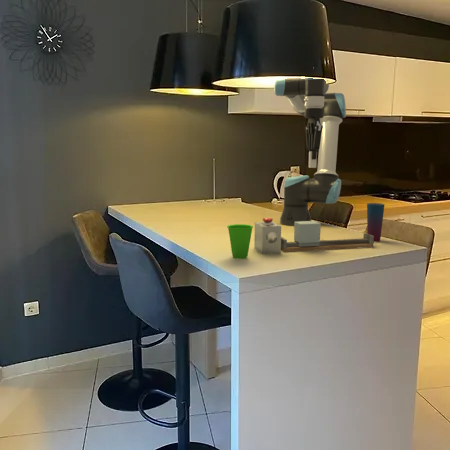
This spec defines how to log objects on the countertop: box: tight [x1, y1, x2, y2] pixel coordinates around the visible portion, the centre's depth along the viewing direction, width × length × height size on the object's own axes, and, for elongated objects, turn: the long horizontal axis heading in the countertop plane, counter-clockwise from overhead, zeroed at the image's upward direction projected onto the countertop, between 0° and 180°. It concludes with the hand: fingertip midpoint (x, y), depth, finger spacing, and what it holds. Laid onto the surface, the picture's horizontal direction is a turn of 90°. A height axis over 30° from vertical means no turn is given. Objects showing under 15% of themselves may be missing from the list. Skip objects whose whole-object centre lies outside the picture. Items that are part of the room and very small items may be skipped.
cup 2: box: [366, 202, 385, 242], centre depth 202 cm, size 7×7×15 cm
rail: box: [281, 232, 374, 253], centre depth 189 cm, size 6×36×4 cm, turn 103°
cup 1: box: [227, 223, 254, 260], centre depth 173 cm, size 9×9×11 cm
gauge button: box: [262, 217, 274, 225], centre depth 183 cm, size 4×4×8 cm
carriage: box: [293, 220, 322, 247], centre depth 187 cm, size 6×8×8 cm
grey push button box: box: [253, 221, 282, 255], centre depth 183 cm, size 11×7×10 cm, turn 13°
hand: (312, 167), depth 202 cm, fingers closed
